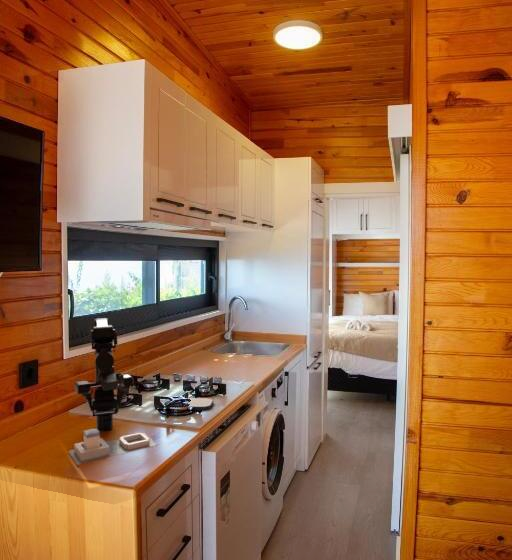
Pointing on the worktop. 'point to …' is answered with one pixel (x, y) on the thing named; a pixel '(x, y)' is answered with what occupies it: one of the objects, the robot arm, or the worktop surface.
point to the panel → (110, 448)
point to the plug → (91, 439)
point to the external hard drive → (201, 403)
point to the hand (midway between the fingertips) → (105, 408)
